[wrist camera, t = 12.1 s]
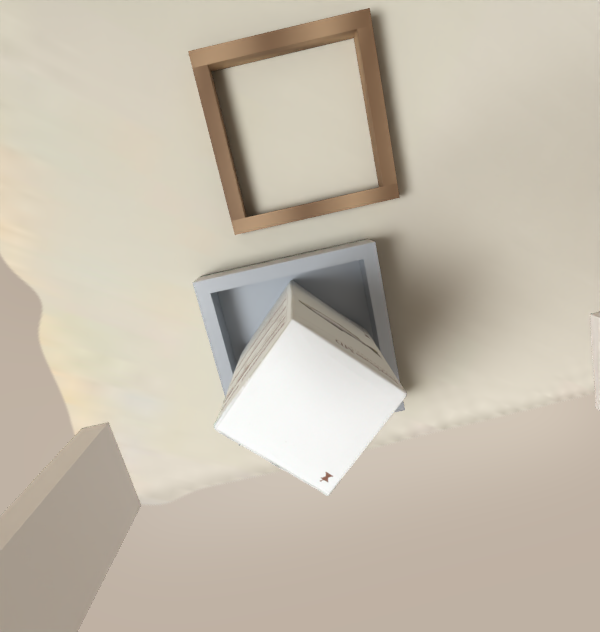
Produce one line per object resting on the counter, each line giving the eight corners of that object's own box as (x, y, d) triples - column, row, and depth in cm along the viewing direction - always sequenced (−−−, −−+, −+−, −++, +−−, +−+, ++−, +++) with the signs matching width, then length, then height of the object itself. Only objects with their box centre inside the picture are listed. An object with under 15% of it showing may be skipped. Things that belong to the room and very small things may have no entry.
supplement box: (368, 328, 34) (415, 396, 21) (314, 400, 35) (328, 503, 23) (291, 275, 33) (293, 314, 20) (237, 351, 34) (209, 432, 22)
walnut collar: (365, 18, 29) (369, 7, 28) (394, 197, 32) (399, 197, 31) (193, 59, 29) (188, 51, 28) (237, 233, 32) (234, 234, 31)
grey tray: (367, 238, 33) (375, 241, 30) (395, 393, 36) (404, 410, 33) (200, 276, 33) (192, 282, 30) (242, 426, 36) (239, 445, 33)
